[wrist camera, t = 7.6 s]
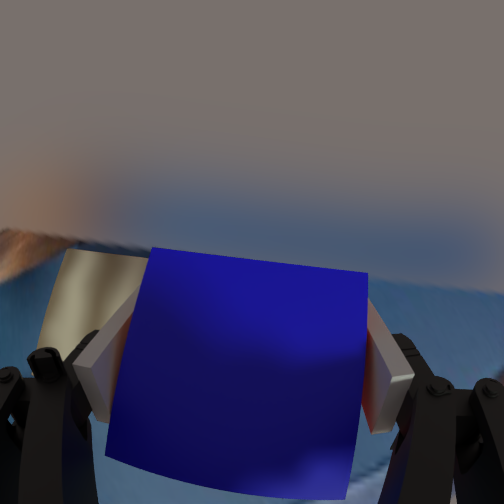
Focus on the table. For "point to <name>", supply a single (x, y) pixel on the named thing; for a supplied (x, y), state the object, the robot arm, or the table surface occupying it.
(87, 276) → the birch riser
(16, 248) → the table surface
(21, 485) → the robot arm
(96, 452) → the table surface
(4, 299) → the table surface
